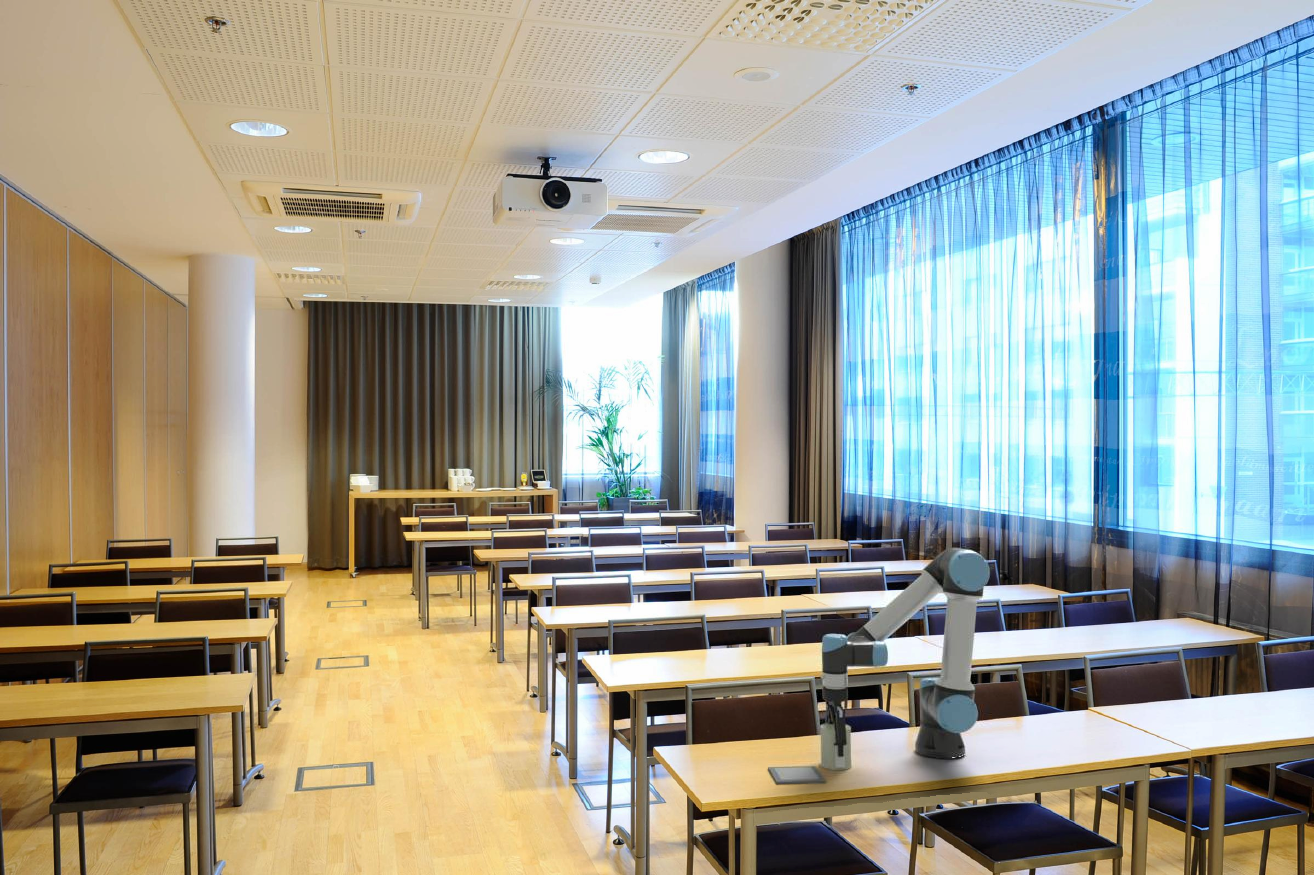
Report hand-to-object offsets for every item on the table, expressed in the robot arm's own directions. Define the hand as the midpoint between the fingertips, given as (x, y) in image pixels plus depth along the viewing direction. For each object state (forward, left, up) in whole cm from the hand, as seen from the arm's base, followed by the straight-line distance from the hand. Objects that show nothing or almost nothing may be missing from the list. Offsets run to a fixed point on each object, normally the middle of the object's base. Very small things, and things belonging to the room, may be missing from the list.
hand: (836, 762), depth 283 cm
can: (0, 0, -1) cm, 1 cm away
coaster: (+14, +9, -1) cm, 17 cm away
